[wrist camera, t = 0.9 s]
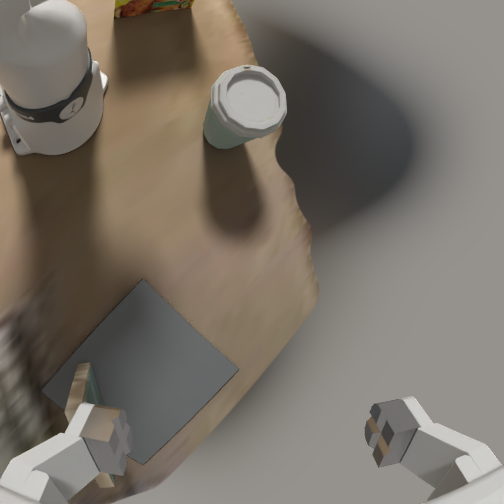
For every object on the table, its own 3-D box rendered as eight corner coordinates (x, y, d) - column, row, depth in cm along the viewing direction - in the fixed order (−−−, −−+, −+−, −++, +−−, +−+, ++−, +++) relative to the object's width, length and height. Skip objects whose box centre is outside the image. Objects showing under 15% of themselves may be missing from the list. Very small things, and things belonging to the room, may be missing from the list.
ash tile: (99, 427, 42) (100, 488, 27) (77, 363, 41) (64, 412, 27) (112, 426, 43) (116, 486, 28) (91, 361, 42) (83, 410, 27)
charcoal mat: (41, 389, 39) (41, 391, 38) (143, 278, 46) (143, 278, 46) (142, 463, 45) (142, 464, 45) (238, 367, 52) (239, 368, 52)
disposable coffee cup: (256, 155, 53) (303, 128, 39) (197, 168, 49) (228, 139, 35) (239, 100, 52) (280, 60, 38) (181, 109, 48) (206, 63, 34)
